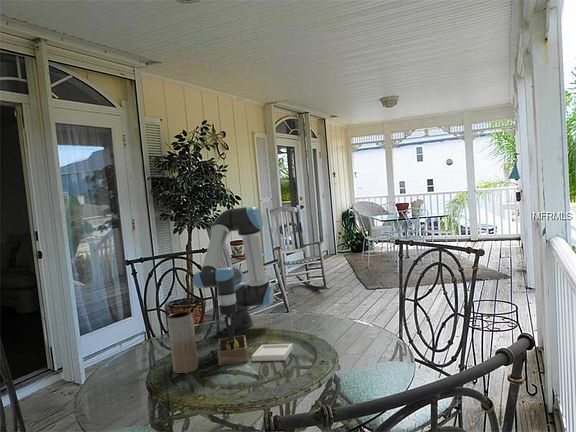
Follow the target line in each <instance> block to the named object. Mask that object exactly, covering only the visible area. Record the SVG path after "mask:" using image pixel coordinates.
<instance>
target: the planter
mask: <svg viewBox="0 0 576 432" xmlns="http://www.w3.org/2000/svg"><path fill="white" fill-rule="evenodd" d="M166 319H167V327H168V336H169V337H168V338H169V345H170V355H171V362H172V371H173V373H174V372H177V373H185V374H188V372H189V373H192V372H195V371H196V370H197V369H198V368H199V361H198V360H199V359H198V352H197V342H196V336H195V335H196V334H195V333H196V332H195V325H194V316H193V312H192V311H180V312H174V313H171V314H169V315H167V317H166Z"/></svg>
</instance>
